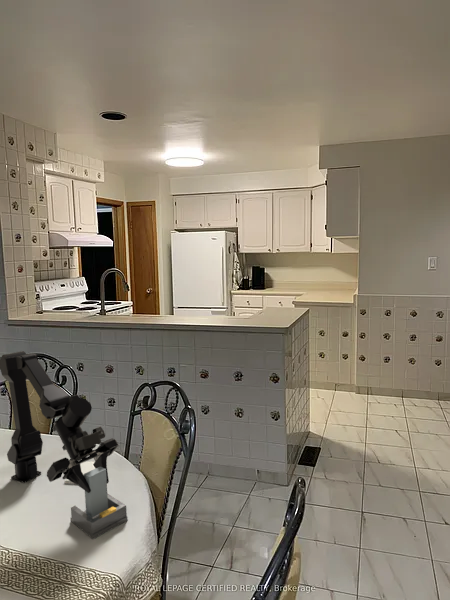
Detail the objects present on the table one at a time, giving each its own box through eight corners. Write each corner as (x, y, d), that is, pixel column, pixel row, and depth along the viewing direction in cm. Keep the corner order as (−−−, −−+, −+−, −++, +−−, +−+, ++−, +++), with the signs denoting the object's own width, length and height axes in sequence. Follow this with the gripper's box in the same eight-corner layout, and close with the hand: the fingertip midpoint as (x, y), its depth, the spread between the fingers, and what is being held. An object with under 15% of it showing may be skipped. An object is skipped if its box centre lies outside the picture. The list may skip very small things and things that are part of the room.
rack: (70, 521, 116) (69, 504, 115) (104, 504, 123) (103, 488, 122) (93, 539, 108) (91, 521, 107) (127, 520, 115) (126, 503, 115)
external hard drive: (106, 466, 146) (89, 486, 134) (82, 465, 147) (64, 485, 135) (106, 461, 146) (89, 481, 134) (82, 461, 147) (64, 479, 135)
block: (86, 514, 114) (83, 474, 113) (102, 505, 118) (100, 466, 117) (91, 518, 113) (89, 477, 112) (108, 508, 117) (106, 469, 115)
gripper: (49, 432, 108) (77, 489, 102) (112, 409, 122) (140, 458, 117) (35, 454, 114) (61, 509, 108) (97, 430, 128) (123, 478, 123)
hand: (98, 487), depth 114 cm, fingers closed on block, 5 cm apart
